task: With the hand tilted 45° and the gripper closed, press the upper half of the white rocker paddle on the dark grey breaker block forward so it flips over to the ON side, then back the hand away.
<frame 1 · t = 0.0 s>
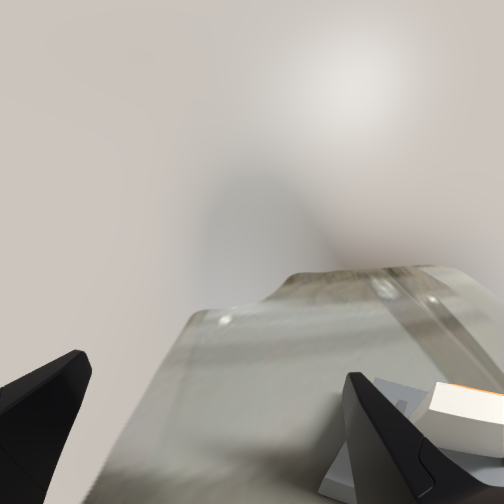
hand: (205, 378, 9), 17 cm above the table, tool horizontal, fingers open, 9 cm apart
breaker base: (435, 466, 17), on the table
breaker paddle: (478, 427, 13), point 8 cm above the table, hinge at -27.0°
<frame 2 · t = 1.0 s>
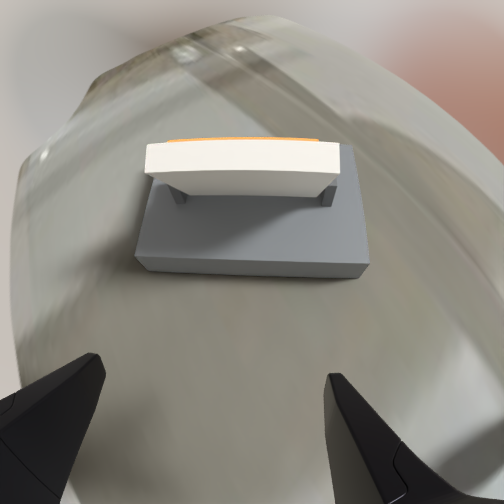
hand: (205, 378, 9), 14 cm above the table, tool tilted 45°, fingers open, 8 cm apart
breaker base: (254, 212, 27), on the table
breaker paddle: (247, 171, 19), point 8 cm above the table, hinge at -27.0°
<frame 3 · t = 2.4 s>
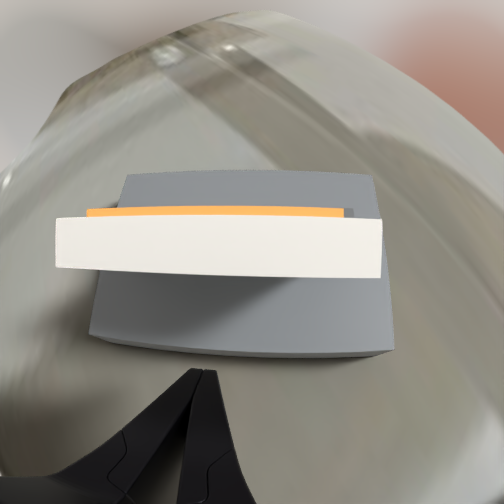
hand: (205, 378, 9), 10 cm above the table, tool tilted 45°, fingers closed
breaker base: (243, 268, 21), on the table
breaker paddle: (224, 239, 13), point 8 cm above the table, hinge at -27.0°
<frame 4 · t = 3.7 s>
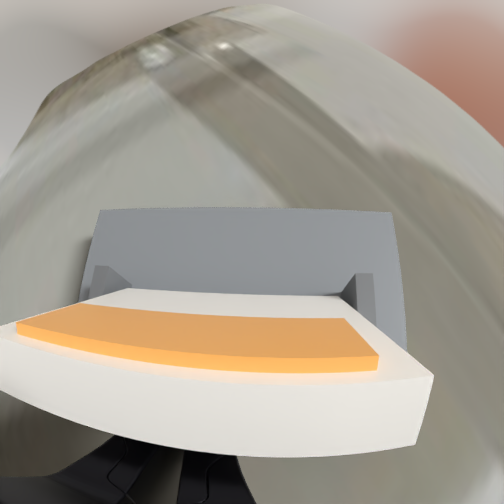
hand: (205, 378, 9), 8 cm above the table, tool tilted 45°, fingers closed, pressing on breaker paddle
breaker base: (236, 324, 18), on the table
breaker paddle: (205, 336, 9), point 8 cm above the table, hinge at -25.0°, touching gripper
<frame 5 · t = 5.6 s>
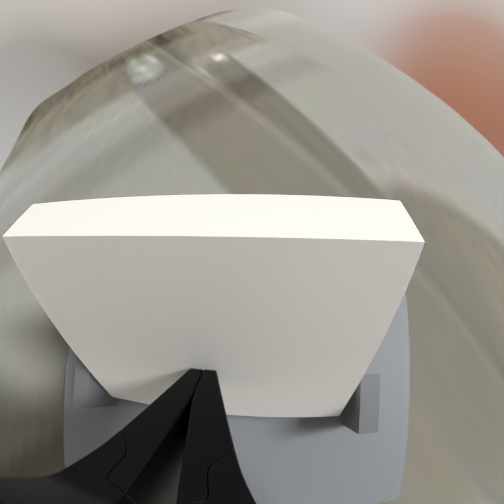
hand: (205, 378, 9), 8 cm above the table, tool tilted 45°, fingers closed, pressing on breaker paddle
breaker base: (232, 394, 16), on the table
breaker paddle: (205, 335, 9), point 8 cm above the table, hinge at 27.9°, touching gripper
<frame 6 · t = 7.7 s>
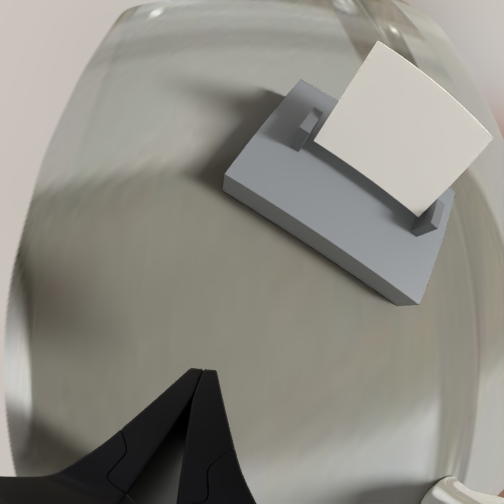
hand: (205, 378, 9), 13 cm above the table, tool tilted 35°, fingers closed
beer glass: (437, 495, 21), on the table
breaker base: (347, 194, 26), on the table
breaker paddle: (404, 131, 18), point 8 cm above the table, hinge at 27.9°
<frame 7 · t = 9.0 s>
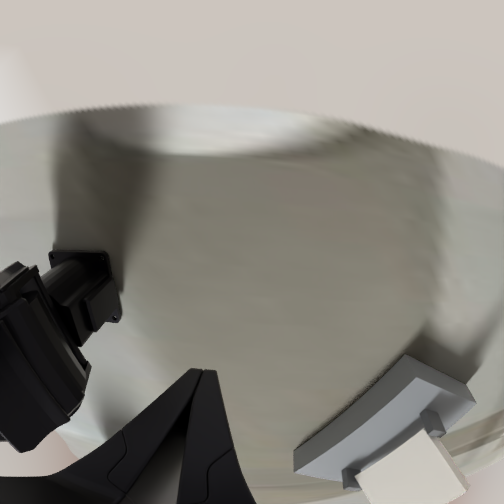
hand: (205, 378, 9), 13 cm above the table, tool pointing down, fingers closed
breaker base: (382, 424, 28), on the table
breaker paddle: (410, 483, 20), point 8 cm above the table, hinge at 27.9°
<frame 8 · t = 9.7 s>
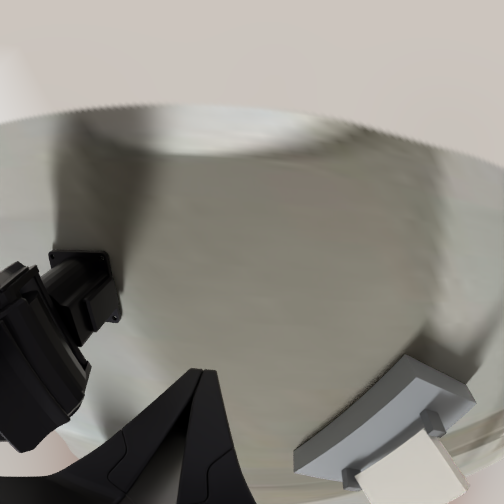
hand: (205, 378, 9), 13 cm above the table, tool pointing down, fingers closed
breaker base: (382, 424, 28), on the table
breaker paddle: (410, 483, 20), point 8 cm above the table, hinge at 27.9°
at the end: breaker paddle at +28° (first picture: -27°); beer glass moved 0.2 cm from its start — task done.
